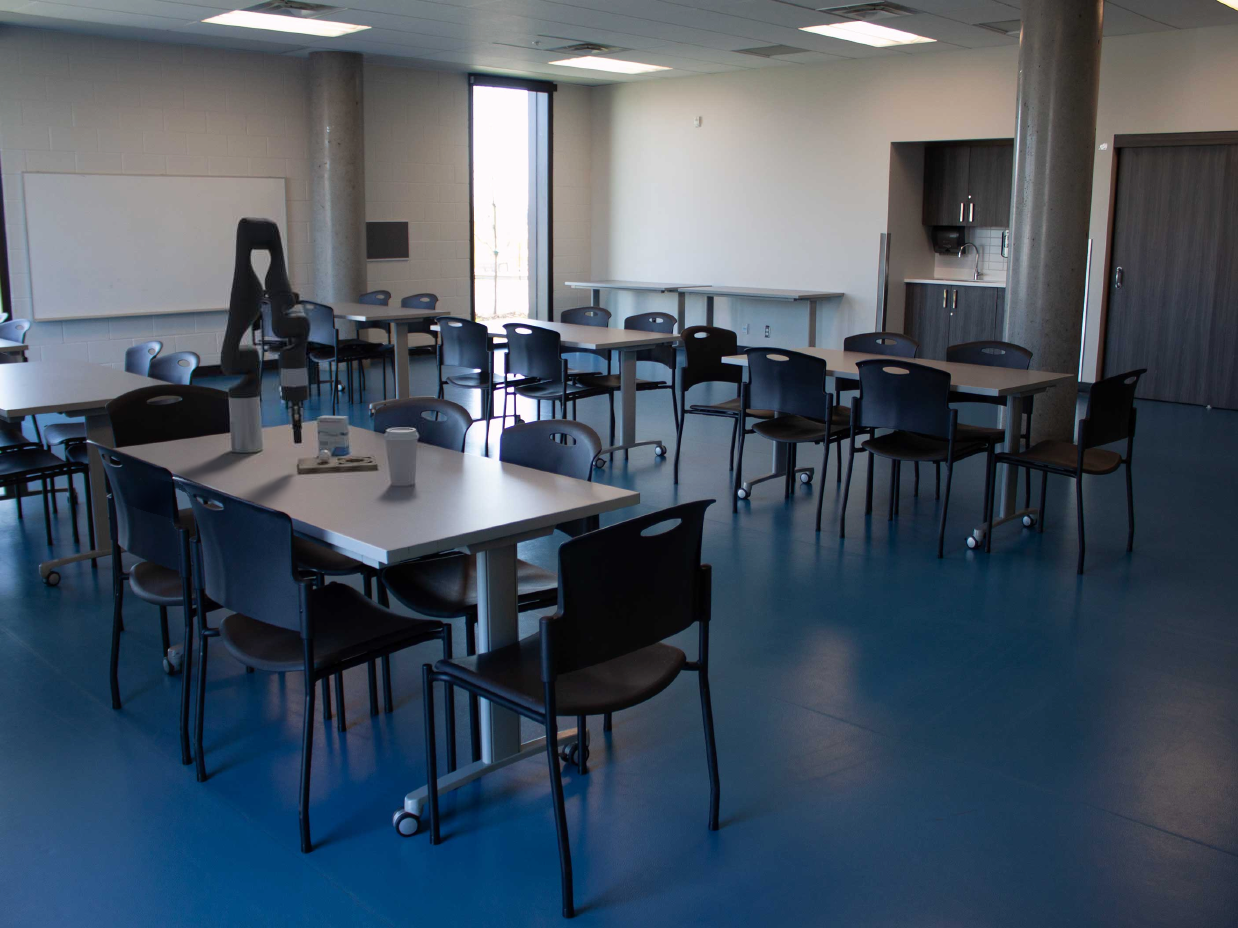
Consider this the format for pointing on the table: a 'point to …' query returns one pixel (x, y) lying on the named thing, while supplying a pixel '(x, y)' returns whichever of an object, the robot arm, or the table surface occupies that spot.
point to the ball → (324, 456)
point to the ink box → (333, 434)
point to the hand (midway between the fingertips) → (297, 443)
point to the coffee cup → (402, 455)
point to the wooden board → (337, 464)
